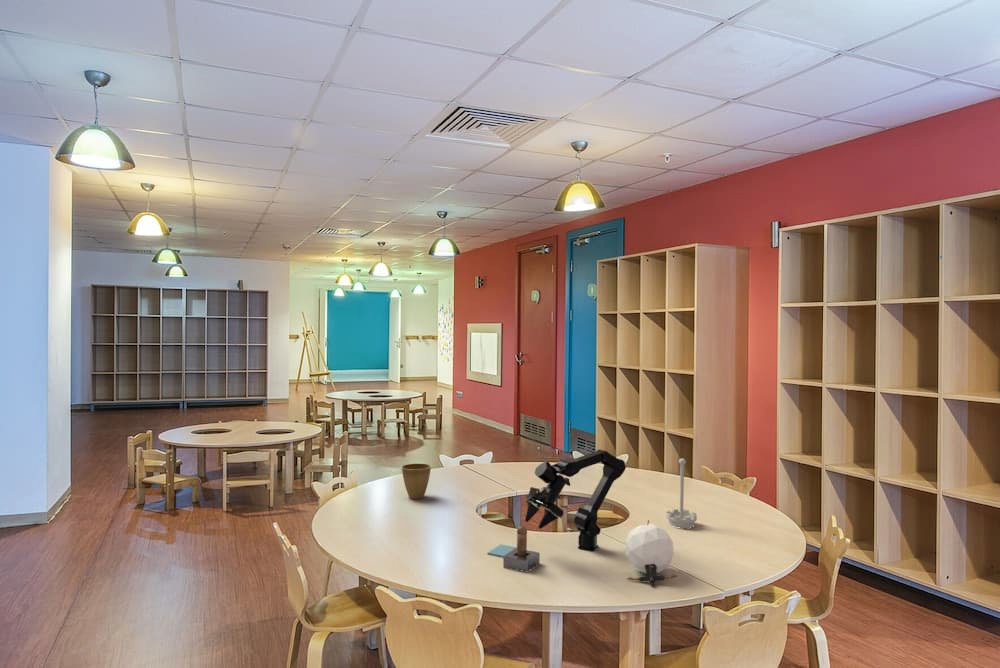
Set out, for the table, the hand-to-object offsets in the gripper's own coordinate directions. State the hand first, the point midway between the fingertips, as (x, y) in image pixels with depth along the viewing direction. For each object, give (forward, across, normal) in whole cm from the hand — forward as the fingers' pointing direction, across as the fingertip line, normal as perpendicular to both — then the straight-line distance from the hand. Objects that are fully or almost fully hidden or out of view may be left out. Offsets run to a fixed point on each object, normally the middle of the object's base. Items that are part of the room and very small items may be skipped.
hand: (532, 524), depth 245 cm
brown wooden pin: (+14, +3, +3) cm, 15 cm away
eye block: (+14, +3, +3) cm, 15 cm away
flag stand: (-40, -4, +74) cm, 84 cm away
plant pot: (+14, -102, +5) cm, 103 cm away
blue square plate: (+13, -11, +4) cm, 18 cm away
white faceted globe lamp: (-7, +32, +31) cm, 46 cm away
